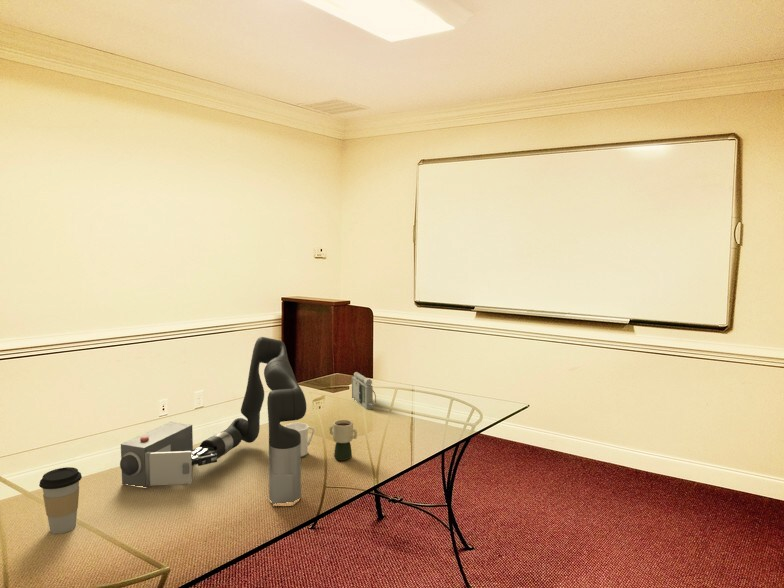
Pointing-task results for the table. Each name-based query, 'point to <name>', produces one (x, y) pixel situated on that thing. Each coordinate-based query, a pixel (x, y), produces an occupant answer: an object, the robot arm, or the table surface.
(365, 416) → the table surface
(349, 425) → the character mug
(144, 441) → the camera body
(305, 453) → the mug
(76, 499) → the coffee cup
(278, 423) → the robot arm
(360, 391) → the geiger counter
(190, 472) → the side door
